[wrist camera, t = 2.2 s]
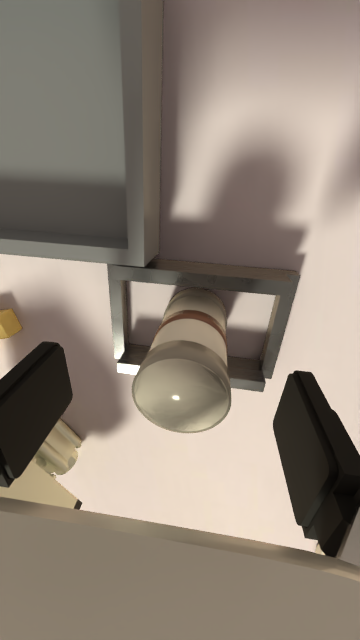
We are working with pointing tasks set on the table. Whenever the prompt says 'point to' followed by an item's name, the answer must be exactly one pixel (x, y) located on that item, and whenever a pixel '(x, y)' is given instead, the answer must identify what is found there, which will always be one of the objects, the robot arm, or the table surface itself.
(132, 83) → the parts tray
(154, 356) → the grey cream domed cylinder
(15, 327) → the yellow and grey bar
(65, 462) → the pneumatic valve
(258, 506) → the table surface
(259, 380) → the dark grey rectangular frame
